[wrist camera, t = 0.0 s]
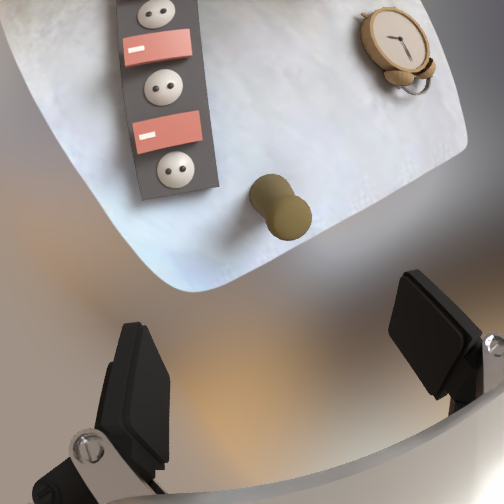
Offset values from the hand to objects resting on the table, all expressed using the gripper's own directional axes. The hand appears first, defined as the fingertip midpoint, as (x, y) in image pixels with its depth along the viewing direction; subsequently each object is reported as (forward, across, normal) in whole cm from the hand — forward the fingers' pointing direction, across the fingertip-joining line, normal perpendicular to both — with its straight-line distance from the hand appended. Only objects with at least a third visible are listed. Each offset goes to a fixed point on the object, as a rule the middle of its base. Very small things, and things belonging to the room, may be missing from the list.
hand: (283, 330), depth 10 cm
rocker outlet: (+28, +6, -6) cm, 29 cm away
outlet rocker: (+28, +6, -17) cm, 33 cm away
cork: (+31, -6, +5) cm, 32 cm away
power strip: (+31, +6, -16) cm, 36 cm away
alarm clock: (+32, -28, -17) cm, 46 cm away
